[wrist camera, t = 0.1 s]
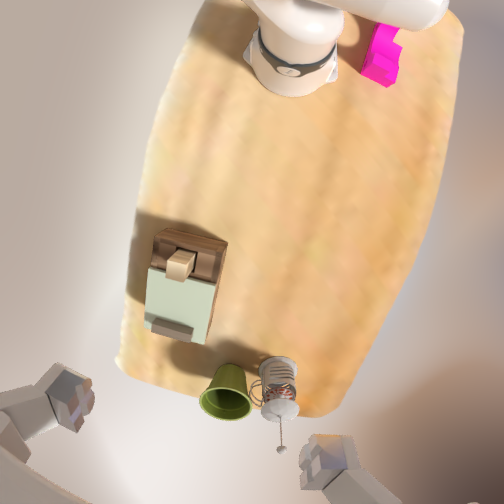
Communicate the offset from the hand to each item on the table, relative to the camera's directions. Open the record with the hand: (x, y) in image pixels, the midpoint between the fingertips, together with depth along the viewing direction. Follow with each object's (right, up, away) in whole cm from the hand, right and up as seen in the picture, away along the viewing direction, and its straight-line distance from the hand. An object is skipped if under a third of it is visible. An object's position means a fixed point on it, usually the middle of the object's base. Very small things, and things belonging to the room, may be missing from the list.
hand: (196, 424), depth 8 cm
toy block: (+29, +48, +35) cm, 66 cm away
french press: (+7, -23, +57) cm, 62 cm away
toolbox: (-11, 0, +51) cm, 52 cm away
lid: (-12, -5, +44) cm, 46 cm away
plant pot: (-3, -25, +58) cm, 63 cm away
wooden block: (-10, +6, +48) cm, 49 cm away
